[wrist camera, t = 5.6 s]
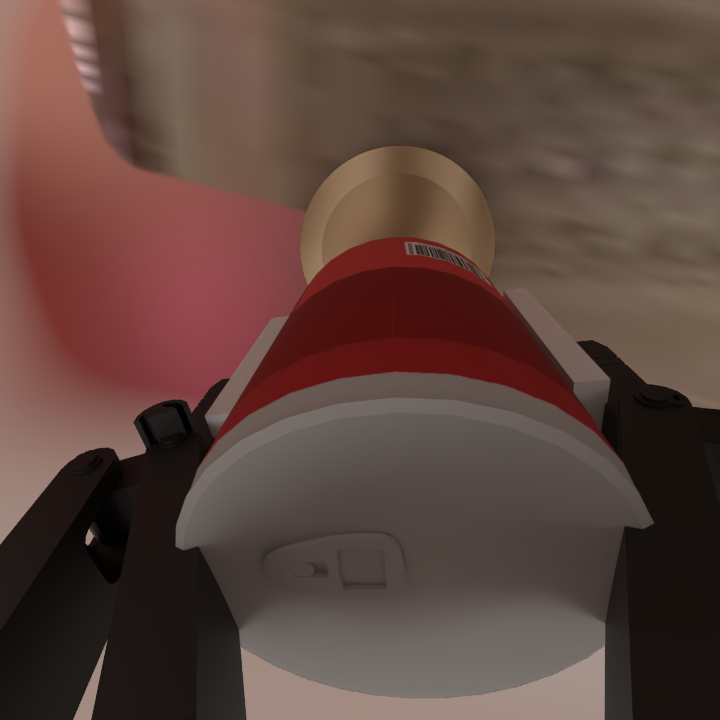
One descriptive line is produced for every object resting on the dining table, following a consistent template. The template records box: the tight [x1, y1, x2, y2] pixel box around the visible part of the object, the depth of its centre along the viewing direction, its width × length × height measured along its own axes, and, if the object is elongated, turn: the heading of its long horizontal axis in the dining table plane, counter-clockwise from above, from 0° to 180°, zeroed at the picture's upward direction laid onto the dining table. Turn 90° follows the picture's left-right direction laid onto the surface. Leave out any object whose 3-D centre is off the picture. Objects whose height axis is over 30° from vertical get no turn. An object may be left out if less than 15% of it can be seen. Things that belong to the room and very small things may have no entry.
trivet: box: [300, 146, 495, 285], centre depth 28 cm, size 13×13×1 cm
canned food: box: [176, 237, 654, 698], centre depth 12 cm, size 8×8×11 cm
